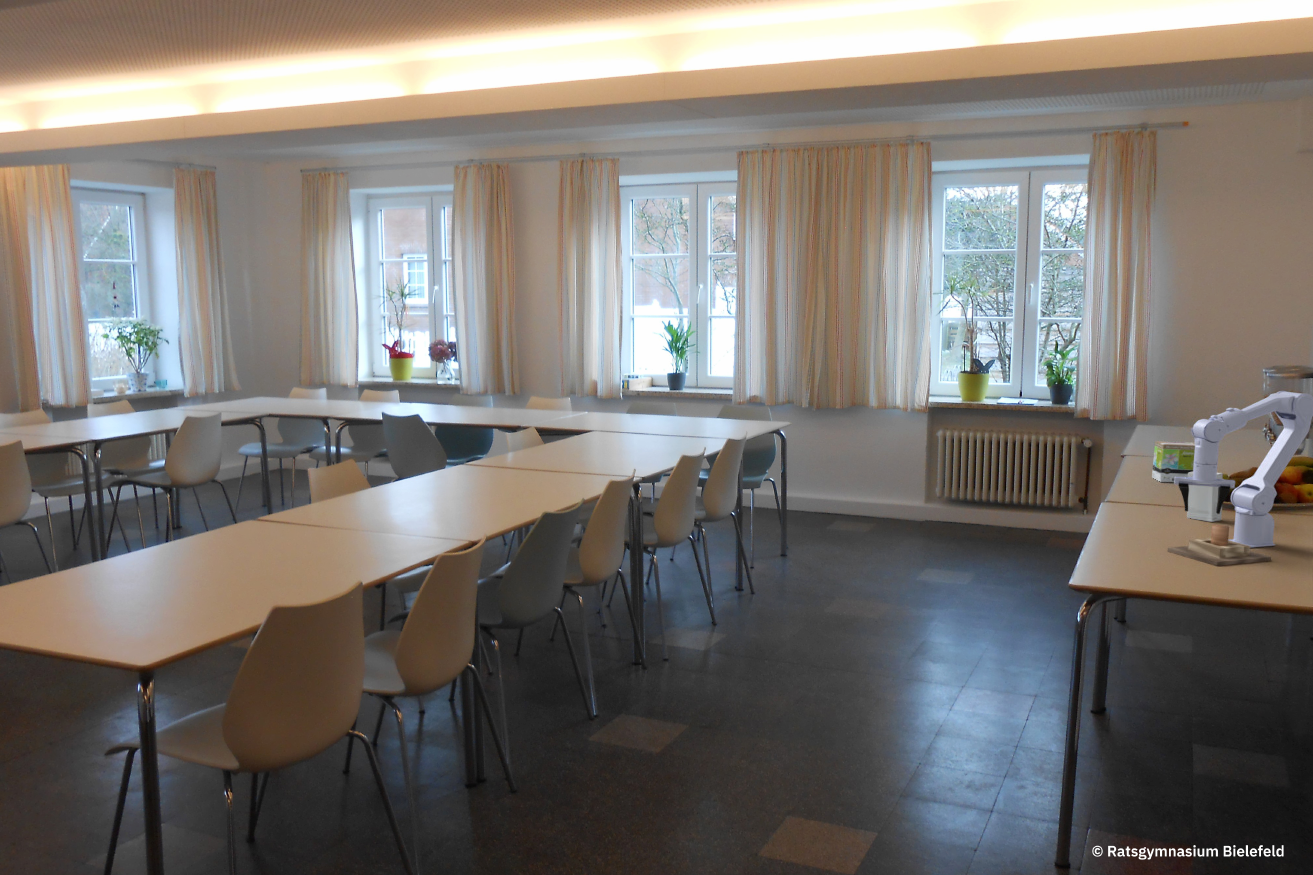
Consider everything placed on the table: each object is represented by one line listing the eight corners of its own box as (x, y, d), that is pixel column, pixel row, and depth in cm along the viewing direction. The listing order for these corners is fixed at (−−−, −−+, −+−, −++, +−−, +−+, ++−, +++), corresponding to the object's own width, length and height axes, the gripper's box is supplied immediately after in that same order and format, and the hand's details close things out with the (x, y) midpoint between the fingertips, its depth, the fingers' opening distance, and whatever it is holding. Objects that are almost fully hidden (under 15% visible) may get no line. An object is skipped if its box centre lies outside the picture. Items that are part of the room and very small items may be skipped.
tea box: (1160, 482, 375) (1162, 443, 373) (1151, 478, 385) (1154, 440, 383) (1203, 484, 373) (1205, 444, 371) (1193, 479, 383) (1196, 441, 381)
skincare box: (1221, 520, 309) (1225, 473, 307) (1211, 522, 306) (1215, 474, 304) (1194, 515, 316) (1198, 469, 314) (1184, 517, 313) (1187, 471, 311)
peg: (1210, 549, 267) (1212, 524, 266) (1227, 551, 265) (1229, 525, 264) (1209, 552, 264) (1211, 526, 263) (1226, 554, 262) (1228, 528, 261)
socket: (1219, 546, 275) (1220, 534, 275) (1271, 560, 260) (1272, 547, 259) (1167, 551, 270) (1168, 538, 269) (1216, 565, 255) (1217, 552, 254)
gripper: (1234, 462, 274) (1230, 511, 276) (1175, 459, 280) (1171, 506, 282) (1237, 466, 268) (1233, 516, 270) (1176, 463, 274) (1173, 511, 276)
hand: (1202, 511), depth 275 cm, fingers open, 7 cm apart
